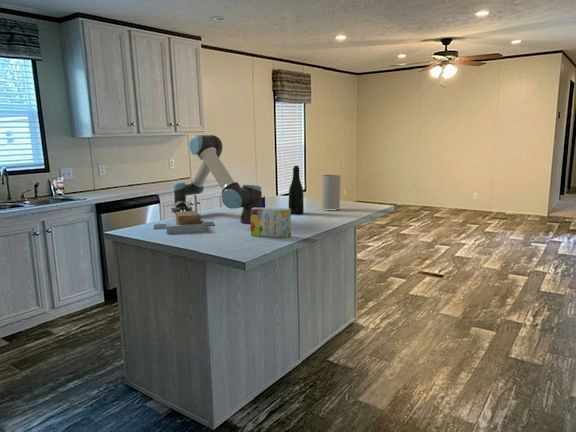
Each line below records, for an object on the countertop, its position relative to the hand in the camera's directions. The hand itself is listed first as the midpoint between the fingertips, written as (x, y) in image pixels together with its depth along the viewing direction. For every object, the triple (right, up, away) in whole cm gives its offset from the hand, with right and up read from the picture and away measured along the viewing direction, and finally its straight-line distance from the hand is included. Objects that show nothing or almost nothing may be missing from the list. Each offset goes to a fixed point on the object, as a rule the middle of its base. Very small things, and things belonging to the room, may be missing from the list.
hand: (183, 213), depth 264 cm
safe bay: (+4, -9, -14) cm, 17 cm away
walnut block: (+5, -9, -9) cm, 13 cm away
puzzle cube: (+41, +2, +51) cm, 65 cm away
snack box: (+54, -12, -28) cm, 62 cm away
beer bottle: (+69, 0, +39) cm, 79 cm away
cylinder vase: (+94, +3, +56) cm, 109 cm away
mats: (+1, -7, -1) cm, 7 cm away
